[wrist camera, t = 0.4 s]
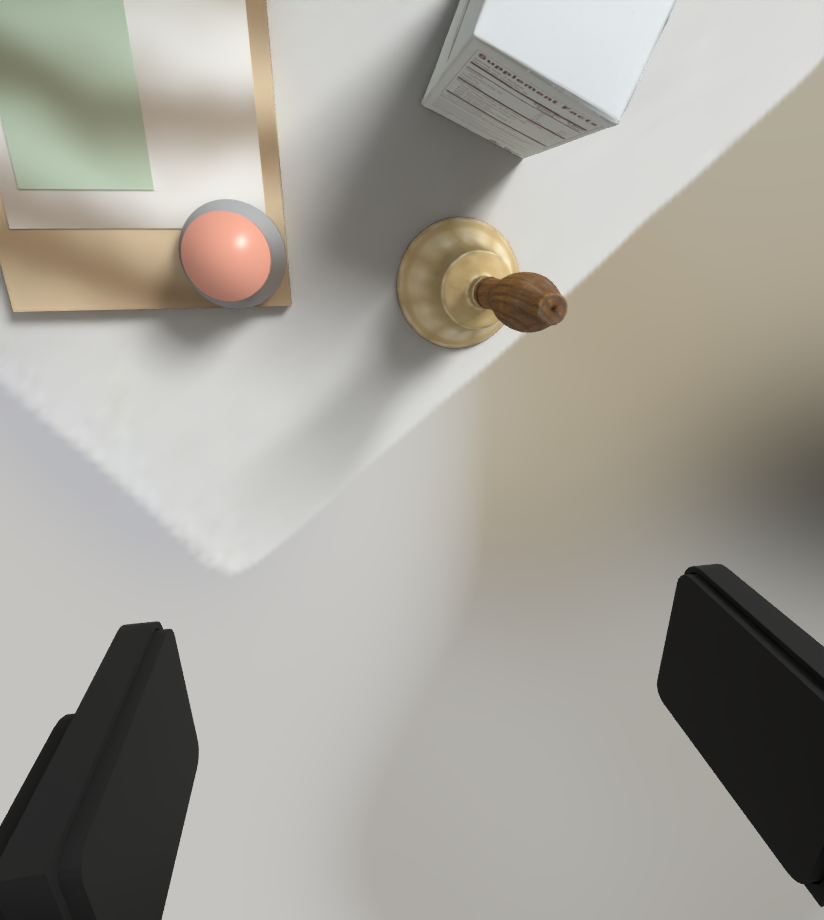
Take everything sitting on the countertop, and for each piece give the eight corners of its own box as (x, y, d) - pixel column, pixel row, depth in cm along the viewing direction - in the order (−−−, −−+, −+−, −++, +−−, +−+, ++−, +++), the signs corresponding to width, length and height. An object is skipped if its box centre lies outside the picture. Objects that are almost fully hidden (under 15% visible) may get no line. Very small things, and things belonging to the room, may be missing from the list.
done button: (180, 211, 30) (174, 210, 28) (267, 211, 30) (265, 210, 29) (193, 299, 31) (187, 302, 30) (275, 297, 32) (273, 300, 31)
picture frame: (-80, -76, 26) (-110, -99, 25) (261, -53, 29) (257, -73, 27) (21, 309, 33) (4, 313, 31) (291, 304, 35) (289, 307, 34)
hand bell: (402, 210, 34) (462, 188, 20) (527, 224, 36) (670, 214, 21) (391, 343, 37) (436, 410, 23) (507, 351, 39) (620, 419, 24)
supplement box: (468, -36, 30) (559, -206, 19) (579, 36, 32) (722, -77, 21) (415, 106, 32) (467, 33, 21) (522, 165, 34) (624, 128, 23)
